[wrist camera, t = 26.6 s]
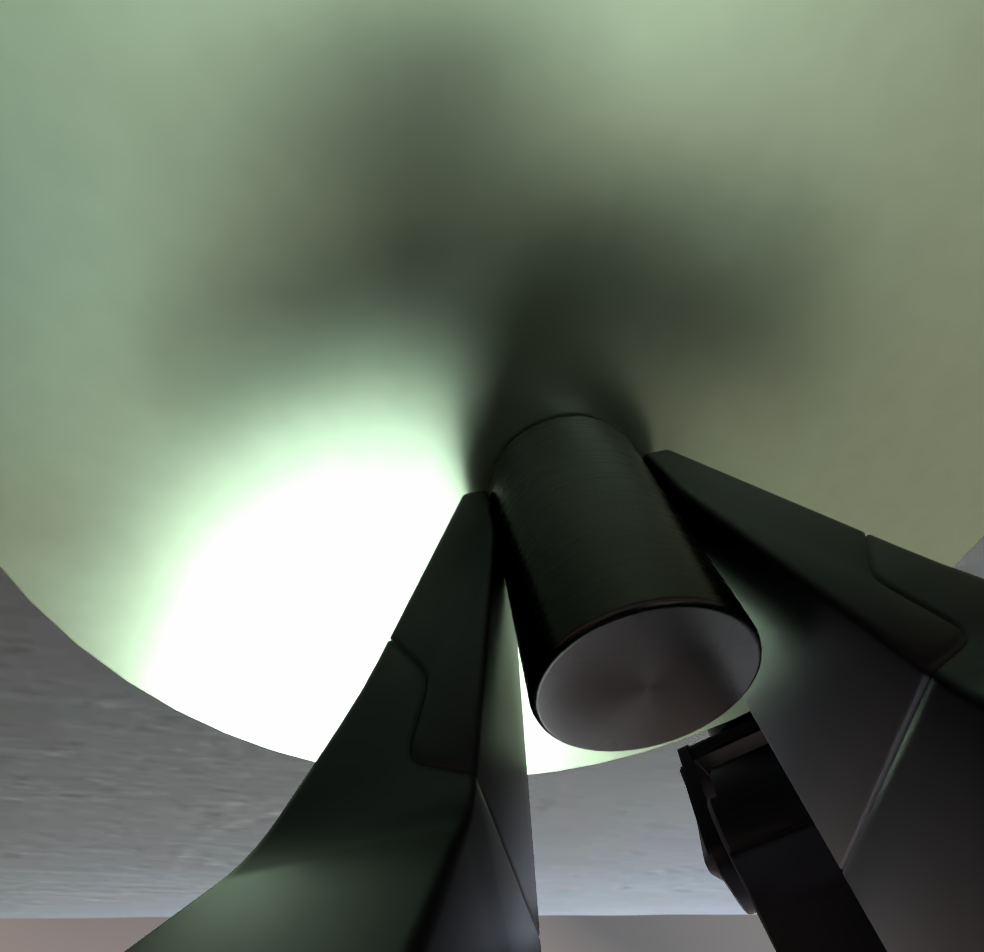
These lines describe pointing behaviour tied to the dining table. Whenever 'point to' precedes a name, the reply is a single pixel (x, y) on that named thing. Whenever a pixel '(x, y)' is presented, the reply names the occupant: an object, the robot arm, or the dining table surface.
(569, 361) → the bin lid
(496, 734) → the robot arm
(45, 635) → the dining table surface
